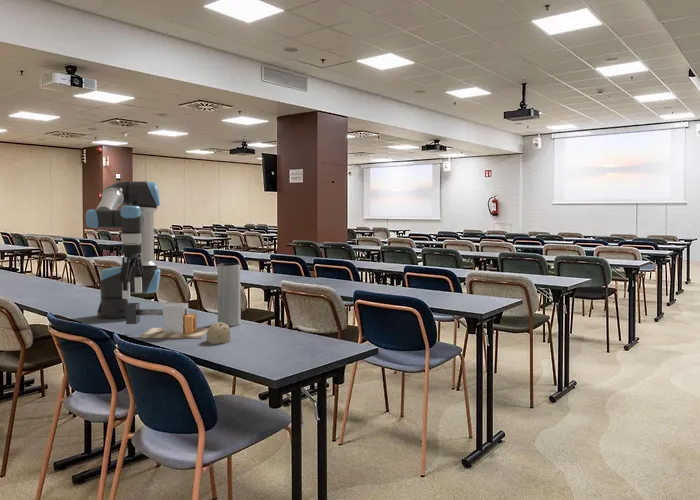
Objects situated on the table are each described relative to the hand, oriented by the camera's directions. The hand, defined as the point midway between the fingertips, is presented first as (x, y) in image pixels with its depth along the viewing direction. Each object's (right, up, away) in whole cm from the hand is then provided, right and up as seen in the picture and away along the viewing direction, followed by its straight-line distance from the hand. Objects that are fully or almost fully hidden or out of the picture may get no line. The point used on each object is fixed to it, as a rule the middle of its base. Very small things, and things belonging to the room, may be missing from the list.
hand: (132, 295), depth 224 cm
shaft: (+9, -11, +1) cm, 15 cm away
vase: (+35, -15, +22) cm, 44 cm away
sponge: (+38, -17, -10) cm, 43 cm away
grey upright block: (+17, -16, +1) cm, 24 cm away
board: (+17, -16, +1) cm, 24 cm away
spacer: (+23, -12, +1) cm, 26 cm away
